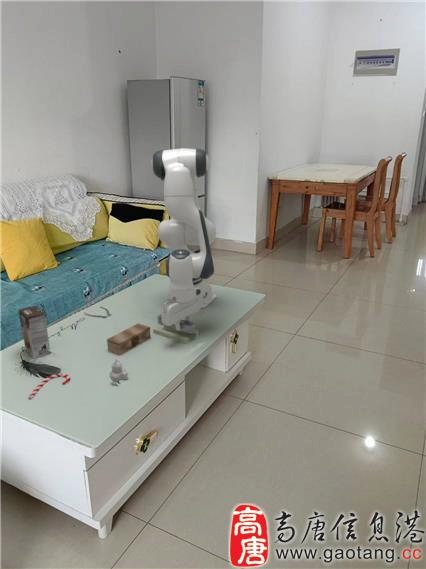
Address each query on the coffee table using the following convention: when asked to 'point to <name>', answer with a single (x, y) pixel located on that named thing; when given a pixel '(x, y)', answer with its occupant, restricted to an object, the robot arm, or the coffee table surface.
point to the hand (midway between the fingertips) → (182, 327)
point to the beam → (128, 339)
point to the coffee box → (34, 331)
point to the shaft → (186, 325)
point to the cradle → (175, 334)
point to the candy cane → (47, 381)
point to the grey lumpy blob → (118, 372)
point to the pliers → (100, 316)
